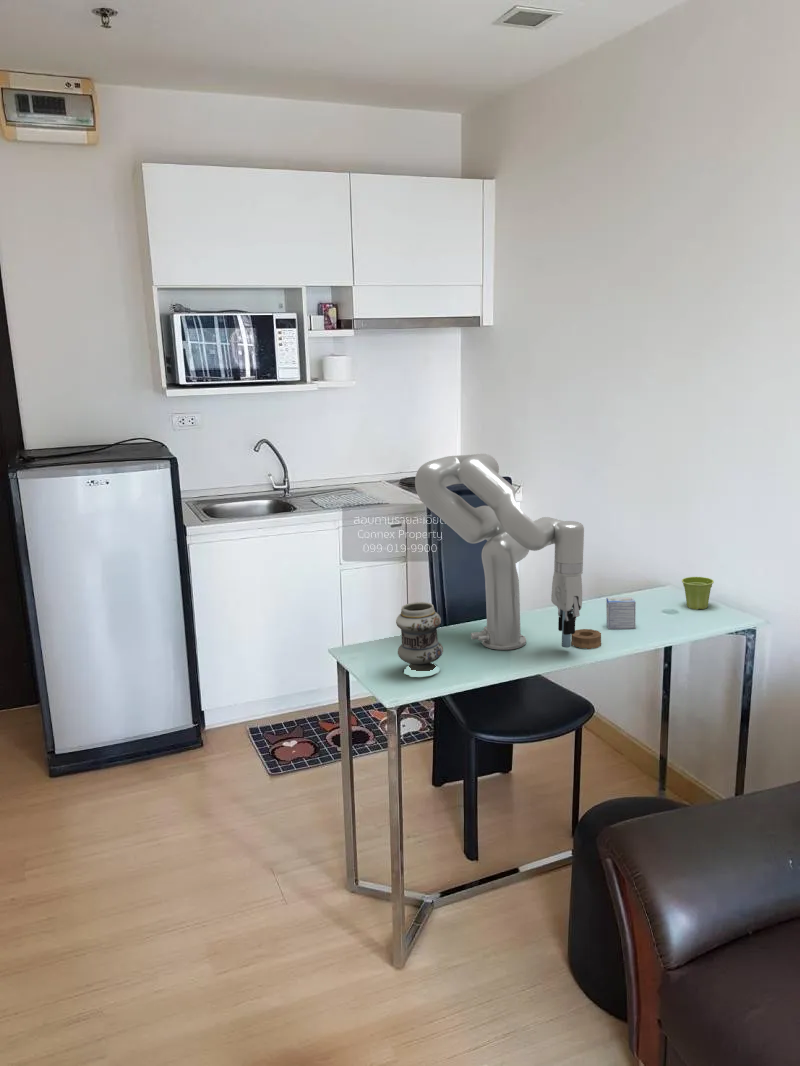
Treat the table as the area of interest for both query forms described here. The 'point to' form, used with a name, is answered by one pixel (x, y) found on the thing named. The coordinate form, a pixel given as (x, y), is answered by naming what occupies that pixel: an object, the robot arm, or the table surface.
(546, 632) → the table surface
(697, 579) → the plant pot
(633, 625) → the medicine box
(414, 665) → the apothecary jar
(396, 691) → the table surface
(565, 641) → the blue grey cylinder
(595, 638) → the bead
